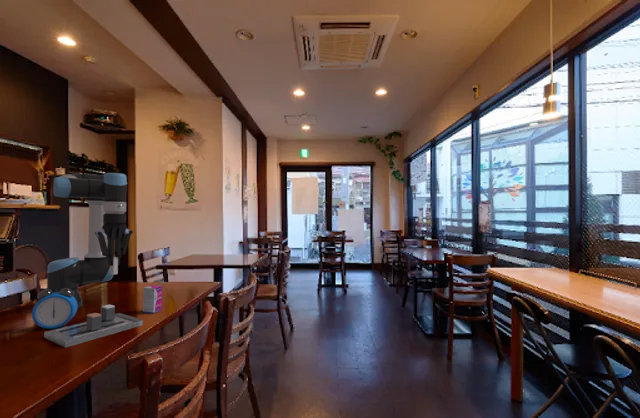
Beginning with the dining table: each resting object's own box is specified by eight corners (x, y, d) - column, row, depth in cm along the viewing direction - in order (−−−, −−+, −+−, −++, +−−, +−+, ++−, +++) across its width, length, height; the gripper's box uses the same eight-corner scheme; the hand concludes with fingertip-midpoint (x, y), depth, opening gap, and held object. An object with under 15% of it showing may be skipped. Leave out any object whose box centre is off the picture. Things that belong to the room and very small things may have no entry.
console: (44, 337, 115) (44, 331, 115) (120, 318, 138) (120, 312, 138) (65, 347, 106) (65, 340, 107) (142, 325, 129) (142, 319, 129)
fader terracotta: (86, 328, 118) (86, 314, 118) (95, 326, 120) (96, 312, 120) (92, 330, 115) (92, 316, 116) (101, 328, 118) (101, 314, 118)
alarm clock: (30, 331, 121) (31, 292, 121) (37, 326, 127) (38, 288, 127) (73, 326, 127) (74, 288, 127) (77, 322, 132) (78, 285, 133)
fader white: (101, 318, 129) (101, 306, 129) (109, 316, 132) (109, 304, 132) (106, 320, 127) (106, 307, 127) (114, 318, 130) (114, 305, 130)
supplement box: (153, 313, 144) (154, 288, 144) (142, 313, 145) (142, 287, 145) (162, 310, 150) (162, 285, 150) (151, 309, 151) (151, 284, 151)
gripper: (101, 212, 117) (100, 277, 117) (137, 213, 128) (136, 272, 128) (91, 212, 121) (90, 275, 120) (126, 213, 132) (125, 270, 132)
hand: (113, 273), depth 124 cm, fingers closed
